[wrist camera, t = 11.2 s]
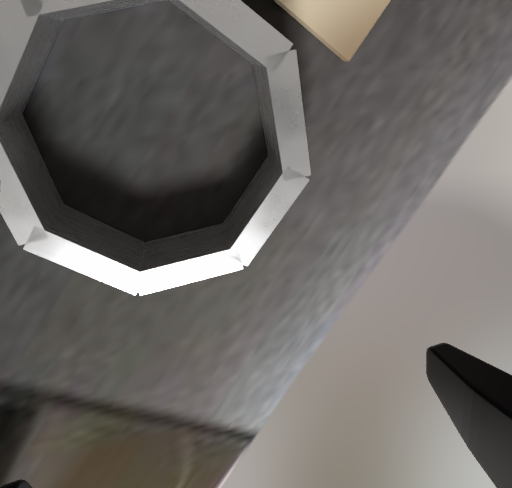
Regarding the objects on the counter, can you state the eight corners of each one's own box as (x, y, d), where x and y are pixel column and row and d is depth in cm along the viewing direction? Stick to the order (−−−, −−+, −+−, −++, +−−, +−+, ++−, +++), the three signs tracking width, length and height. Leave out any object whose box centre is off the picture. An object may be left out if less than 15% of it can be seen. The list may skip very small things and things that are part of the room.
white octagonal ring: (-43, 181, 17) (-84, 205, 14) (77, -115, 13) (53, -155, 11) (202, 291, 22) (205, 324, 19) (337, 95, 18) (364, 103, 16)
